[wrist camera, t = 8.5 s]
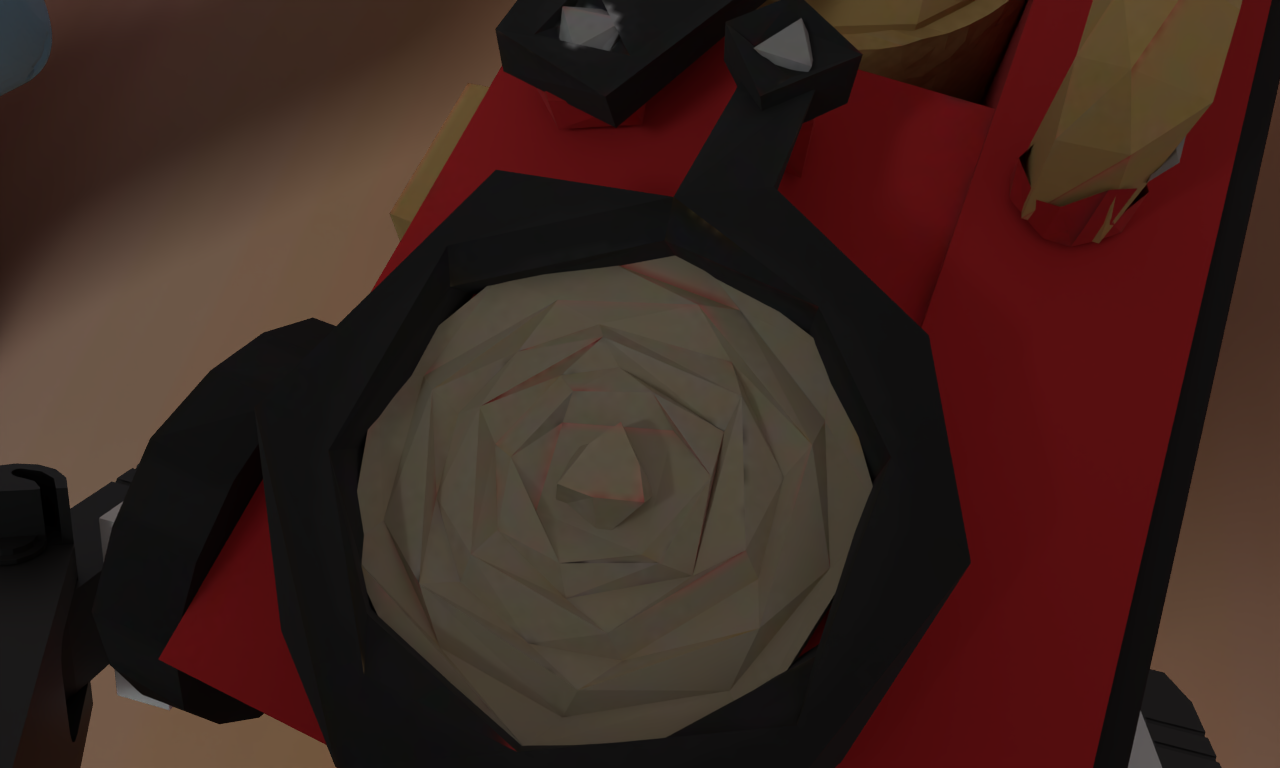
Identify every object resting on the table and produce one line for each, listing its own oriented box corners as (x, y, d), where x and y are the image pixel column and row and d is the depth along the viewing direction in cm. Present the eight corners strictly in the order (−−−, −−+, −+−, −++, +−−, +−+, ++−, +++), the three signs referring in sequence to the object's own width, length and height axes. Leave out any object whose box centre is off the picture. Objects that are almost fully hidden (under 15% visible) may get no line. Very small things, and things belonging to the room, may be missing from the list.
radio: (650, 252, 30) (581, -612, 11) (974, 361, 28) (1538, -459, 9) (415, 756, 24) (-443, 707, 6) (793, 934, 23) (1252, 1675, 4)
